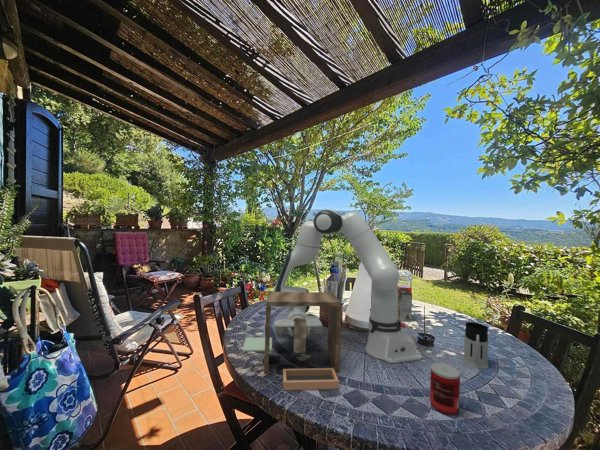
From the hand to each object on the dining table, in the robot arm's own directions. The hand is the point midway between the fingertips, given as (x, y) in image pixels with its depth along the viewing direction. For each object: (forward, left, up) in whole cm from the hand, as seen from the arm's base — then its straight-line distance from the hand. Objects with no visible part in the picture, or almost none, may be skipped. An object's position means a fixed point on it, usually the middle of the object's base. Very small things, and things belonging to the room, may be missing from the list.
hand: (300, 334), depth 106 cm
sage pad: (+17, -12, -9) cm, 23 cm away
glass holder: (-69, +8, -10) cm, 70 cm away
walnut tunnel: (0, +4, -9) cm, 10 cm away
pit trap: (-2, +16, -9) cm, 19 cm away
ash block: (0, -1, -6) cm, 7 cm away
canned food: (-41, +30, -10) cm, 51 cm away
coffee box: (-66, -44, -10) cm, 80 cm away
